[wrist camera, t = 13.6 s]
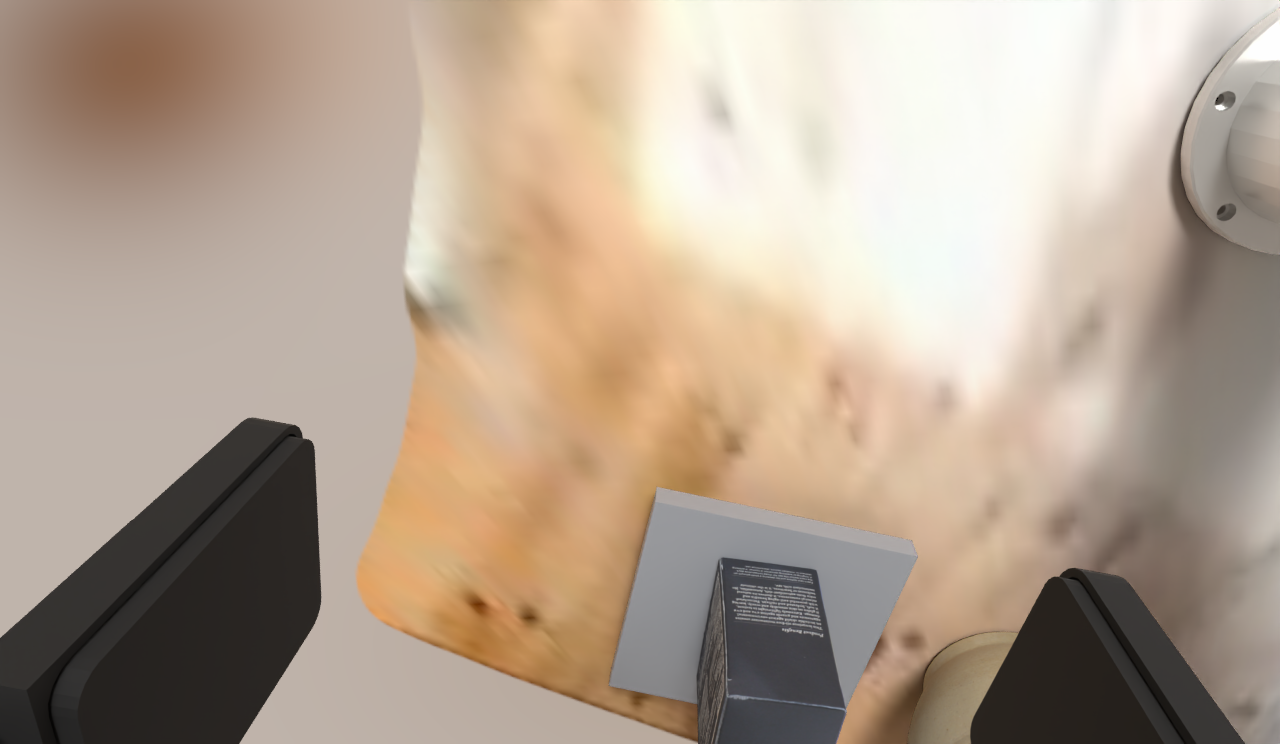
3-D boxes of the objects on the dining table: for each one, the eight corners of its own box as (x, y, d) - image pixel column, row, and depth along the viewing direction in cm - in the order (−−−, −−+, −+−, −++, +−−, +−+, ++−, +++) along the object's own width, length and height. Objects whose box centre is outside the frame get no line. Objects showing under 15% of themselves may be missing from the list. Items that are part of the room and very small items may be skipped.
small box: (791, 689, 50) (810, 847, 41) (694, 675, 50) (691, 830, 41) (823, 567, 45) (854, 715, 36) (717, 554, 46) (719, 696, 36)
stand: (902, 515, 48) (917, 556, 44) (826, 684, 55) (834, 732, 52) (659, 464, 48) (655, 501, 44) (615, 641, 55) (608, 685, 51)
